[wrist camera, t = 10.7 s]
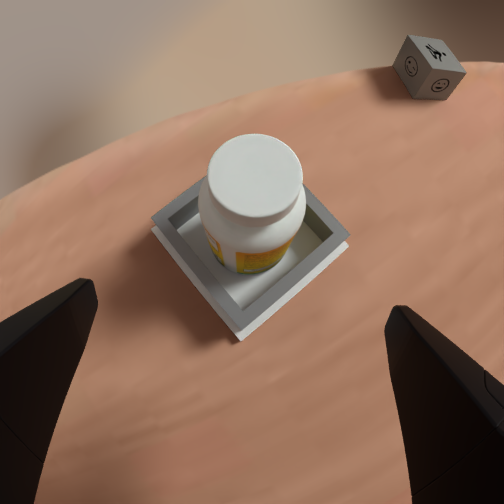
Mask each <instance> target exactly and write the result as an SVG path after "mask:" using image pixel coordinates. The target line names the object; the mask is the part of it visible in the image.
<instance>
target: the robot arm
mask: <svg viewBox="0 0 504 504" xmlns="http://www.w3.org/2000/svg"><path fill="white" fill-rule="evenodd" d="M97 308H98V299H97V295H96V291H95V287H94V283H93V281H92V280H91V279H85V278H79V279H77V280H75V281H73V282H71V283H69V284H67V285H66V286H64V287H62V288H60V289H58V290H56V291H55V292H53V293H51V294H49V295H47V296H45V297H44V298H42V299H40V300H38V301H36V302H35V303H33V304H31V305H29V306H28V307H26V308H24V309H22V310H21V311H19V312H17V313H15V314H14V315H12V316H10V317H8V318H7V319H5V320H3V321H2V322H0V504H34V500H35V496H36V492H37V488H38V484H39V480H40V476H41V473H42V469H43V465H44V464H43V463H44V461H45V458H46V455H47V451H48V448H49V445H50V441H51V438H52V435H53V432H54V429H55V426H56V423H57V420H58V417H59V414H60V411H61V409H62V406H63V403H64V400H65V398H66V395H67V392H68V390H69V387H70V384H71V382H72V379H73V377H74V374H75V371H76V369H77V366H78V364H79V362H80V359H81V357H82V354H83V352H84V349H85V346H86V343H87V340H88V337H89V333H90V330H91V327H92V324H93V321H94V317H95V314H96V311H97ZM384 333H385V340H386V347H387V355H388V363H389V371H390V377H391V382H392V386H393V391H394V395H395V400H396V405H397V410H398V415H399V420H400V425H401V430H402V436H403V441H404V447H405V453H406V459H407V466H408V473H409V480H410V487H411V495H412V504H504V385H503V384H502V383H500V382H499V381H498V380H497V379H496V378H494V377H493V376H492V375H491V374H490V373H489V372H488V371H486V370H484V368H483V367H482V366H480V365H479V364H478V363H477V362H476V361H475V360H473V359H472V358H471V357H470V356H469V355H467V354H466V353H465V352H464V351H463V350H461V349H460V348H459V347H458V346H457V345H455V344H454V343H453V342H452V341H450V340H449V339H448V338H447V337H446V336H444V335H443V334H442V333H441V332H439V331H438V330H437V329H436V328H434V327H433V326H432V325H431V324H429V323H428V322H427V321H426V320H424V319H423V318H422V317H421V316H419V315H418V314H417V313H416V312H414V311H413V310H412V309H411V308H409V307H408V306H405V305H396V306H394V307H393V309H392V311H391V313H390V316H389V318H388V320H387V323H386V325H385V330H384Z"/></svg>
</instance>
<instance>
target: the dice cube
mask: <svg viewBox="0 0 504 504" xmlns="http://www.w3.org/2000/svg"><path fill="white" fill-rule="evenodd" d="M392 66H393V67H394V69H395V70H396V72H397V73H398V75H399V77H400V78H401V80H402V81H403V83H404V85H405V86H406V88H407V90H408V91H409V93H410V95H411V96H412V98H413V99H434V100H447V98H448V97H449V96H450V94H451V93H452V92H453V91H454V89H455V88H456V87H457V85H458V84H459V83H460V81H461V80H462V79H463V77H464V76H465V75H466V71H465V70H464V68H463V67H462V66H461V64H460V63H459V62H458V60H457V59H456V57H455V56H454V55H453V53H452V52H451V51H450V50H449V48H448V47H447V46H446V44H445V43H444V42H443V41H442V40H438V39H432V38H426V37H420V36H413V35H407V37H406V39H405V41H404V44H403V45H402V47H401V49H400V51H399V54H398V55H397V57H396V59H395V61H394V64H393V65H392Z"/></svg>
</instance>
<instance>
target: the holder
mask: <svg viewBox="0 0 504 504" xmlns="http://www.w3.org/2000/svg"><path fill="white" fill-rule="evenodd" d="M205 177H206V176H205ZM205 177H204V178H205ZM204 178H202V179H201V180H200V181H198V182H197V183H195V184H194V185H193V186H191V187H190V188H189V189H187V190H186V191H185V192H183V193H182V194H181V195H179V196H178V197H177V198H176V199H174V200H173V201H172V202H170V203H169V204H168V205H166V206H165V207H164V208H163V209H161V210H160V211H159V212H157V213H156V214H155V215H154V216H152V217H151V219H152V220H153V221H154V223H155V224H156V225H155V226H154V227H153V228H152V229H151V230H152V232H153V233H154V234H155V236H156V237H157V238H158V240H159V241H160V242H161V243H162V245H163V246H164V247H165V249H166V250H167V251H168V253H169V254H170V255H171V256H172V258H173V259H174V260H175V262H176V263H177V264H178V265H179V267H180V268H181V269H182V271H183V272H184V273H185V274H186V276H187V277H188V278H189V279H190V281H191V282H192V283H193V284H194V286H195V287H196V288H197V289H198V291H199V292H200V293H201V294H202V296H203V297H204V298H205V299H206V300H207V302H208V303H209V304H210V305H211V307H212V308H213V309H214V310H215V311H216V313H217V314H218V315H219V316H220V317H221V319H222V320H223V321H224V322H225V323H226V325H227V326H228V327H229V328H230V329H231V330H232V332H233V333H234V334H235V335H236V336H237V337H238V339H239V340H240V341H242V340H243V339H244V338H246V337H247V336H248V335H249V334H250V333H252V332H253V331H254V330H255V329H256V328H257V327H259V326H260V325H261V324H262V323H263V322H265V321H266V320H267V319H268V318H269V317H270V316H272V315H273V314H274V313H275V312H276V311H277V310H279V309H280V308H281V307H282V306H283V305H284V304H286V303H287V302H288V301H289V300H290V299H291V298H292V297H294V296H295V295H296V294H297V293H298V292H299V291H300V290H301V289H303V288H304V287H305V286H306V285H307V284H308V283H309V282H310V281H312V280H313V279H314V278H315V277H316V276H317V275H318V274H319V273H320V272H322V271H323V270H324V269H325V268H326V267H327V266H328V265H329V264H330V263H331V262H332V261H334V260H335V259H336V258H337V257H338V256H339V255H340V254H341V253H342V252H343V251H344V250H345V249H347V248H348V247H349V245H348V244H347V243H346V242H345V240H346V239H347V238H348V237H349V236H350V234H349V232H348V231H347V230H346V229H345V228H344V227H343V226H342V225H341V224H340V222H339V221H338V220H337V219H336V218H335V217H334V216H333V215H332V214H331V213H330V212H329V211H328V209H327V208H326V207H325V206H324V205H323V204H322V203H321V202H320V201H319V200H318V199H317V198H316V197H315V196H314V195H313V194H312V193H311V192H310V190H309V189H308V188H307V187H306V186H305V185H304V184H303V183H302V185H303V187H304V191H305V196H306V210H305V215H304V218H303V221H302V224H301V226H300V228H299V230H298V231H297V233H296V235H295V236H294V238H293V240H292V242H291V244H290V246H289V248H288V249H287V251H286V253H285V255H284V256H283V258H282V259H281V261H280V262H279V263H278V264H277V265H276V266H274V267H273V268H272V269H270V270H268V271H266V272H264V273H261V274H256V275H240V274H236V273H234V272H231V271H229V270H228V269H226V268H225V267H223V266H222V265H221V264H220V263H219V262H218V261H217V259H216V258H215V256H214V254H213V253H212V250H211V248H210V245H209V242H208V239H207V236H206V233H205V230H204V227H203V224H202V221H201V218H200V214H199V208H198V197H199V191H200V188H201V185H202V182H203V180H204Z"/></svg>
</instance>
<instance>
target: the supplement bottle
mask: <svg viewBox="0 0 504 504" xmlns="http://www.w3.org/2000/svg"><path fill="white" fill-rule="evenodd" d="M302 182H303V174H302V167H301V164H300V162H299V159H298V158H297V156H296V154H295V153H294V152H293V151H292V149H291V148H290V147H288V146H287V145H286V144H285V143H283V142H282V141H280V140H278V139H276V138H274V137H271V136H268V135H263V134H246V135H241V136H237V137H234V138H232V139H230V140H228V141H227V142H225V143H224V144H223V145H221V146H220V147H219V148H218V149H217V150H216V152H215V153H214V154H213V156H212V158H211V160H210V162H209V165H208V170H207V175H206V177H205V178H204V180H203V182H202V185H201V188H200V191H199V197H198V208H199V214H200V218H201V221H202V224H203V227H204V230H205V233H206V236H207V239H208V242H209V245H210V248H211V250H212V253H213V254H214V256H215V258H216V259H217V261H218V262H219V263H220V264H221V265H222V266H223V267H225V268H226V269H228V270H229V271H231V272H234V273H236V274H240V275H256V274H261V273H264V272H266V271H268V270H270V269H272V268H273V267H274V266H276V265H277V264H278V263H279V262H280V261H281V259H282V258H283V256H284V255H285V253H286V251H287V249H288V248H289V246H290V244H291V242H292V240H293V238H294V236H295V235H296V233H297V231H298V230H299V228H300V226H301V224H302V221H303V218H304V215H305V210H306V196H305V191H304V187H303V185H302Z"/></svg>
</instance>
